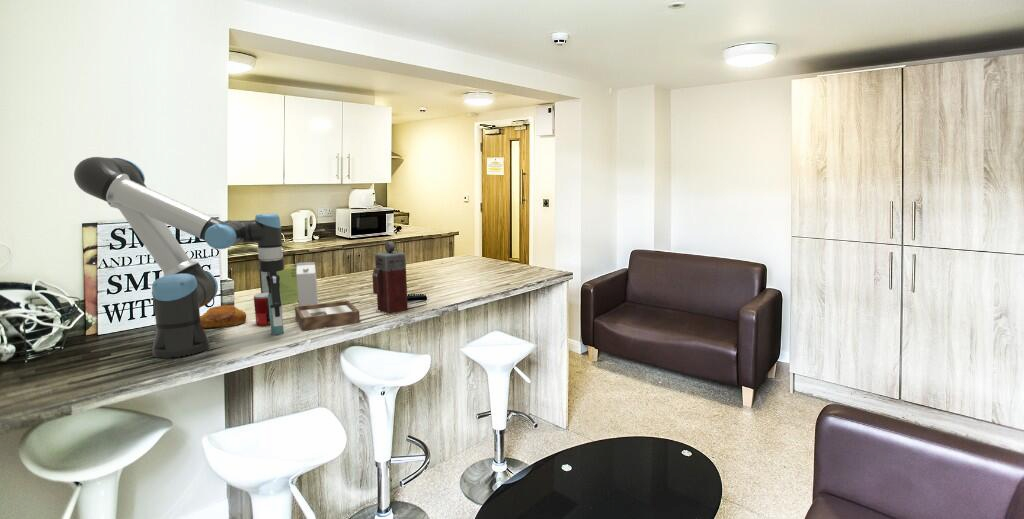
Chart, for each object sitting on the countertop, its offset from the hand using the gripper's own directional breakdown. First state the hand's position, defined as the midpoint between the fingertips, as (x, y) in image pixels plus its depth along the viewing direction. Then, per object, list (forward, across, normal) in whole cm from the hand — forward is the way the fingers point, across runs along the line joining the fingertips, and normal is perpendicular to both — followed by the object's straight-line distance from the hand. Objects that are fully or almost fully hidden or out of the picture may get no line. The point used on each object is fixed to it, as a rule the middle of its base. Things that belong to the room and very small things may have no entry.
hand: (276, 321), depth 182 cm
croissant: (+5, +25, +16) cm, 30 cm away
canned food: (+4, +16, +2) cm, 17 cm away
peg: (+4, 0, 0) cm, 4 cm away
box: (+4, +9, -18) cm, 21 cm away
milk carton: (+4, +35, -15) cm, 38 cm away
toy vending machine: (+4, +12, -43) cm, 45 cm away
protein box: (+4, +52, -7) cm, 53 cm away
